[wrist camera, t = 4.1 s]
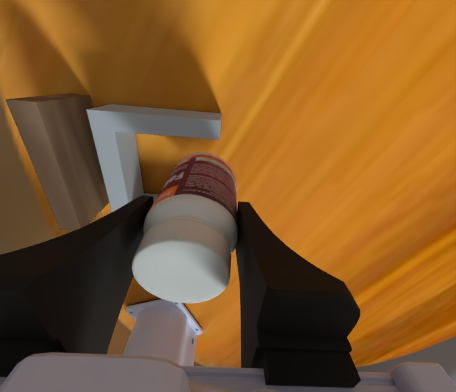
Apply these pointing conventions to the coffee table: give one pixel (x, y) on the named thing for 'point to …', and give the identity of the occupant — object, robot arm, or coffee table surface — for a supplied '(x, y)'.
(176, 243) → the pill bottle
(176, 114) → the cradle
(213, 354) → the coffee table surface
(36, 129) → the wall
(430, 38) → the coffee table surface
